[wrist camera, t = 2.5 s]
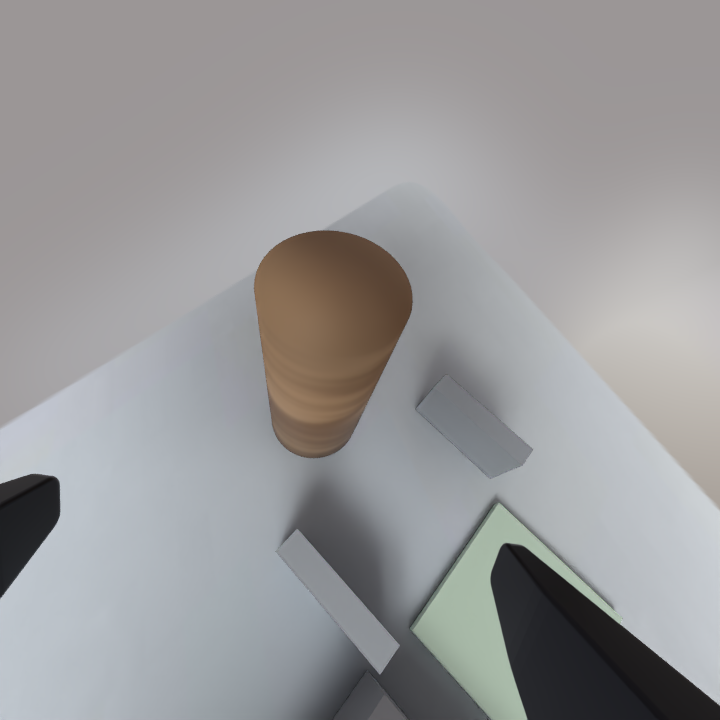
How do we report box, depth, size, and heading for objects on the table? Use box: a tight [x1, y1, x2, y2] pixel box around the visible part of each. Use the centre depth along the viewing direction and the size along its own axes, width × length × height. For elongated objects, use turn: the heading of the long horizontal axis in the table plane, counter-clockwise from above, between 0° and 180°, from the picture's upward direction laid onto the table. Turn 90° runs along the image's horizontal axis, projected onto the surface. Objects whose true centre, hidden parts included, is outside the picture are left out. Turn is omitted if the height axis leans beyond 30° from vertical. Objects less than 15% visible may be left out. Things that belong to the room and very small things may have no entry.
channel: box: [276, 374, 533, 674], centre depth 19 cm, size 12×6×4 cm, turn 136°
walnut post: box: [254, 231, 412, 458], centre depth 17 cm, size 5×5×12 cm
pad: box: [410, 503, 622, 720], centre depth 18 cm, size 8×8×1 cm
